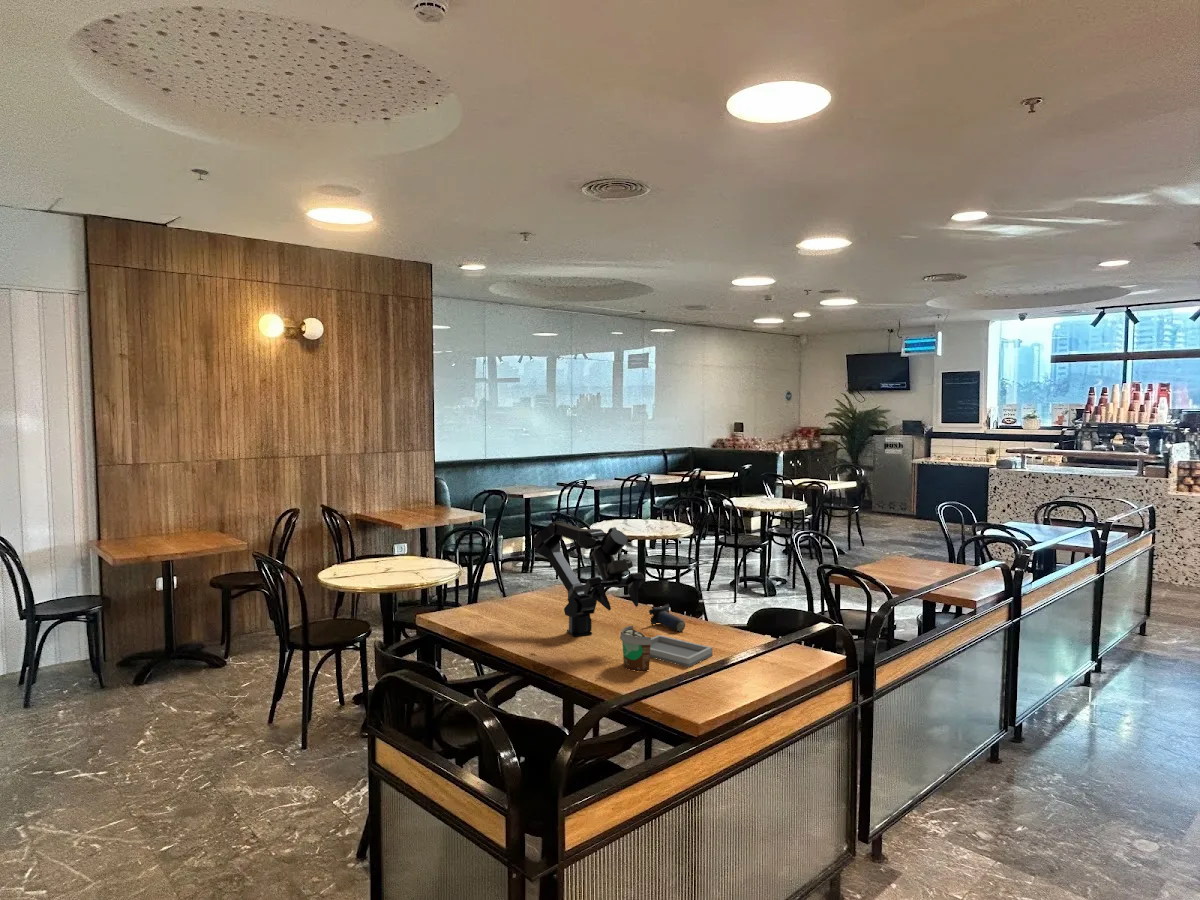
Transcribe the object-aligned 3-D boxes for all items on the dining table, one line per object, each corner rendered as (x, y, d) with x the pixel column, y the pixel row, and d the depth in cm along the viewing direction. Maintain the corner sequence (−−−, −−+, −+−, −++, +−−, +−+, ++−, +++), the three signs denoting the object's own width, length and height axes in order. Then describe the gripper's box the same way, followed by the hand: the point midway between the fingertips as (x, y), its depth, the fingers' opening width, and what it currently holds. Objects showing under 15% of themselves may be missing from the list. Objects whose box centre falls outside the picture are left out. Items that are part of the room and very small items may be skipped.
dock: (688, 667, 206) (688, 658, 206) (634, 653, 218) (634, 645, 218) (712, 655, 216) (712, 647, 216) (658, 642, 228) (659, 634, 228)
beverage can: (650, 629, 247) (674, 640, 238) (647, 608, 246) (671, 618, 236) (669, 619, 252) (694, 630, 243) (667, 599, 251) (692, 608, 241)
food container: (612, 661, 210) (612, 627, 210) (631, 659, 213) (632, 625, 212) (631, 676, 199) (631, 639, 199) (651, 673, 201) (651, 637, 201)
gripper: (587, 551, 216) (604, 596, 207) (641, 546, 225) (660, 589, 215) (575, 572, 223) (592, 617, 214) (629, 567, 232) (647, 609, 223)
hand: (623, 607), depth 216 cm, fingers open, 9 cm apart
